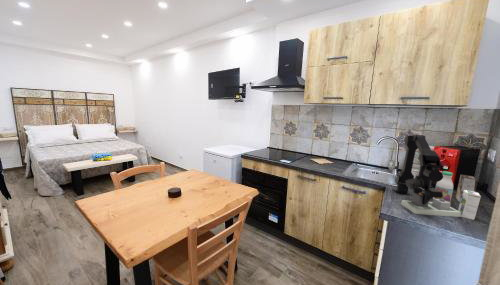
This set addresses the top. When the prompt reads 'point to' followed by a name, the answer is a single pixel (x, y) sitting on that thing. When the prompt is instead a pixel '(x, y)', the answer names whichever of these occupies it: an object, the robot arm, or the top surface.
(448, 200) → the milk bottle
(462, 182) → the coffee box
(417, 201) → the plug block
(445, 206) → the twin plug block
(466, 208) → the syrup box
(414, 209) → the socket strip
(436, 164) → the robot arm
